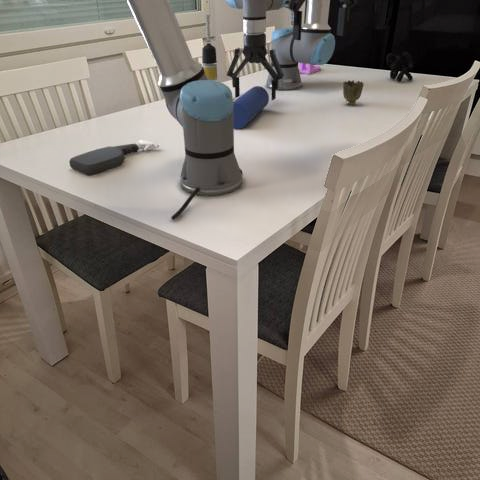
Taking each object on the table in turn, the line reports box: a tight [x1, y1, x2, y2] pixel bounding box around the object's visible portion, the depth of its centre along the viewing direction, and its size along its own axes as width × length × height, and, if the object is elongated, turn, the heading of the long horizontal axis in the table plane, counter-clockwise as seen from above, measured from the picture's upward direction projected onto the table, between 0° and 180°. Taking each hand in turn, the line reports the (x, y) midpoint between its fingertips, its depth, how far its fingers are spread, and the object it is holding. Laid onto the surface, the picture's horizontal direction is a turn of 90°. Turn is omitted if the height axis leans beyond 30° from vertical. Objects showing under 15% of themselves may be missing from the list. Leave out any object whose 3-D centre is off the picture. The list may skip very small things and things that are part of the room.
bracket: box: [298, 63, 321, 75], centre depth 218 cm, size 13×6×7 cm, turn 143°
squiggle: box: [385, 51, 414, 83], centre depth 198 cm, size 11×10×15 cm
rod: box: [233, 85, 270, 130], centre depth 154 cm, size 24×8×8 cm, turn 160°
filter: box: [201, 14, 218, 81], centre depth 171 cm, size 6×6×30 cm
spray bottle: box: [68, 139, 160, 177], centre depth 124 cm, size 3×11×24 cm
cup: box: [342, 80, 365, 106], centre depth 166 cm, size 8×7×8 cm
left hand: (319, 37), depth 115 cm, fingers open, 13 cm apart
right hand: (255, 97), depth 160 cm, fingers open, 13 cm apart
